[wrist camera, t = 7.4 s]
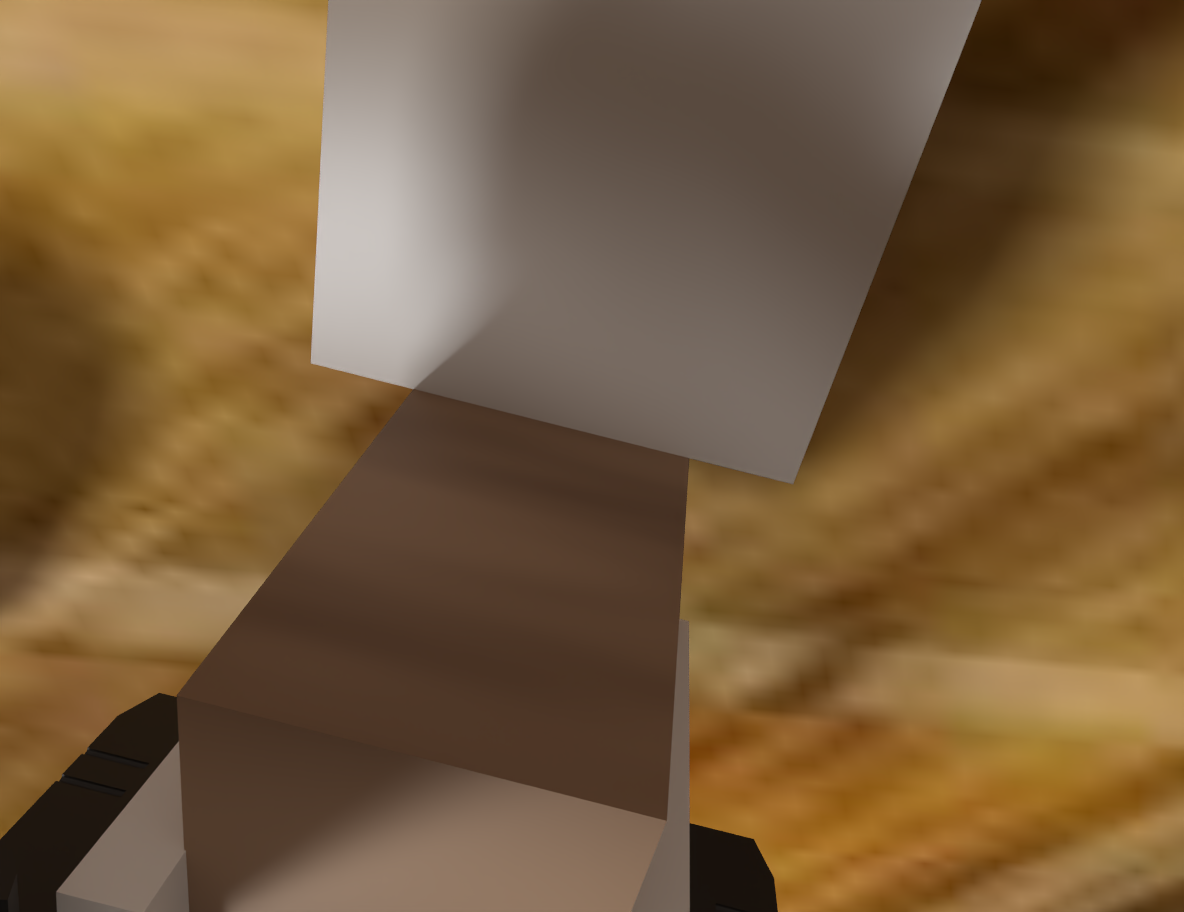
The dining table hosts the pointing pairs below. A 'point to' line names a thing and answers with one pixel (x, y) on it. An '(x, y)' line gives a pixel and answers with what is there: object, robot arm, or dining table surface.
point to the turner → (540, 426)
